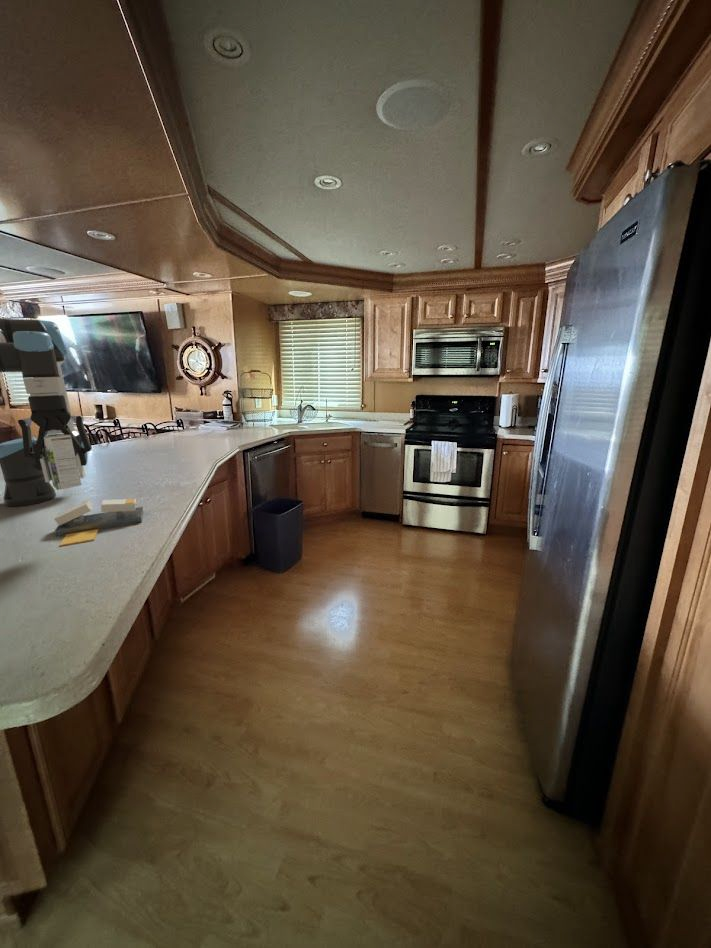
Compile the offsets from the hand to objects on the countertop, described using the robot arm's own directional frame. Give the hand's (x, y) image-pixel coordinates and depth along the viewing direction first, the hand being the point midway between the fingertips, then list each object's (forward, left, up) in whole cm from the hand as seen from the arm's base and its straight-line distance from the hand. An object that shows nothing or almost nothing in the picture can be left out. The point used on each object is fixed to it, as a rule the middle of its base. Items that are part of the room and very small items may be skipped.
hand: (66, 478), depth 104 cm
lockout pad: (0, 0, -18) cm, 18 cm away
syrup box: (0, 0, -2) cm, 2 cm away
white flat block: (-10, -2, -14) cm, 17 cm away
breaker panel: (-10, +4, -18) cm, 21 cm away
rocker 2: (-10, +9, -14) cm, 20 cm away
